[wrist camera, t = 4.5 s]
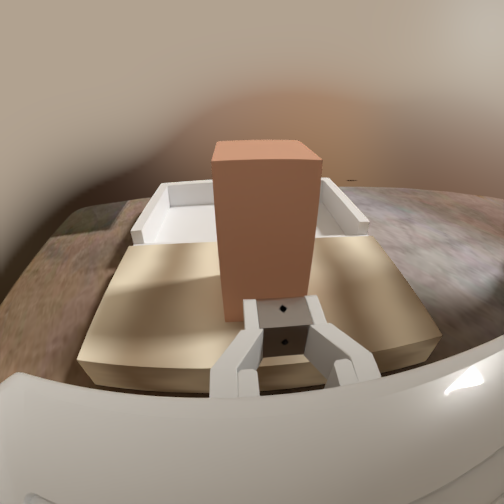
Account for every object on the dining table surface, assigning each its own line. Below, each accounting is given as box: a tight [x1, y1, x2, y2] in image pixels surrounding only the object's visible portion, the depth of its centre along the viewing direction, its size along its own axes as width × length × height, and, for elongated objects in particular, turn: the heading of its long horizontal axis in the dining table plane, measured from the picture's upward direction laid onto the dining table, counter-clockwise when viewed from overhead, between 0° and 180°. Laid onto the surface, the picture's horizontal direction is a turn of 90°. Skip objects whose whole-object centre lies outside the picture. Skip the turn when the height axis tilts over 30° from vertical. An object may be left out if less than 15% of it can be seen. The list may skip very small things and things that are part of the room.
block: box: [211, 140, 323, 322], centre depth 17 cm, size 5×5×10 cm
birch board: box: [77, 236, 443, 393], centre depth 21 cm, size 24×13×3 cm, turn 94°
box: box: [131, 178, 370, 246], centre depth 32 cm, size 24×15×4 cm, turn 94°
